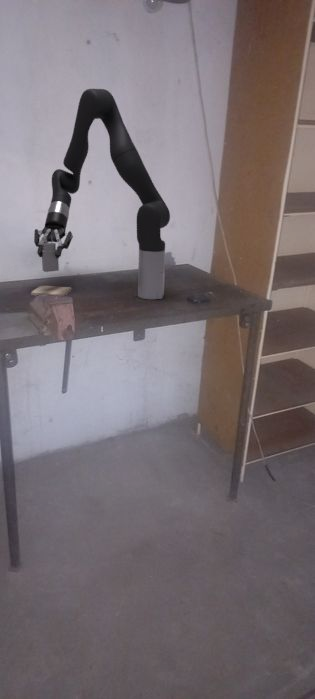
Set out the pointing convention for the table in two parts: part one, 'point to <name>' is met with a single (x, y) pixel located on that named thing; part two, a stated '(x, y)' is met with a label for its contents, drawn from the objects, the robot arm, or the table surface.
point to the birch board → (51, 290)
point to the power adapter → (49, 257)
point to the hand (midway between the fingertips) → (48, 256)
